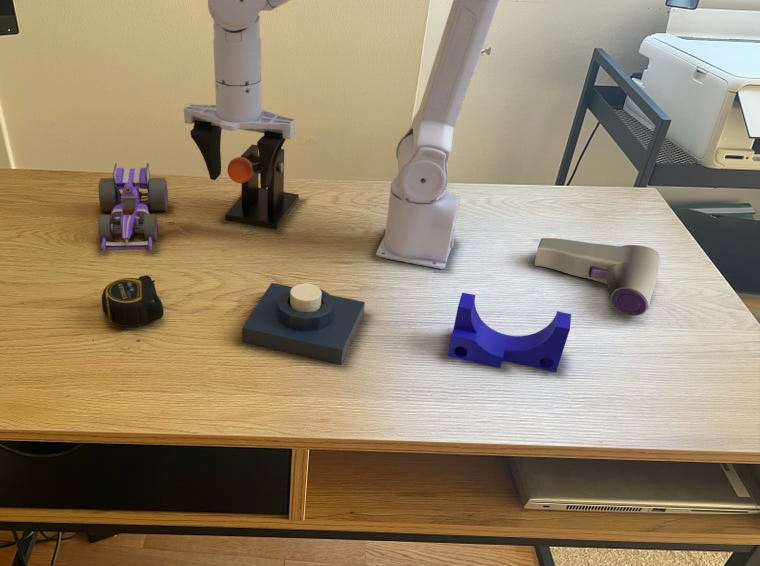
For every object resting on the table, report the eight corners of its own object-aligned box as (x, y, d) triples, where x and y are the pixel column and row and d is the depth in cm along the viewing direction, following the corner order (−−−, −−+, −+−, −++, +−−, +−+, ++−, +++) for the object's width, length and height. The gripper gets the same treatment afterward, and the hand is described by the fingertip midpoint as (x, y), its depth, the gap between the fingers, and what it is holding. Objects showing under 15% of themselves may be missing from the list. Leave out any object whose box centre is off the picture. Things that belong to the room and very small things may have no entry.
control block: (363, 316, 91) (366, 289, 88) (341, 365, 83) (343, 337, 81) (271, 297, 93) (271, 270, 91) (242, 342, 86) (241, 314, 84)
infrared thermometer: (538, 257, 104) (654, 277, 99) (521, 301, 95) (647, 325, 90) (544, 227, 101) (663, 246, 96) (527, 270, 93) (657, 293, 87)
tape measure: (166, 327, 88) (163, 301, 86) (108, 336, 86) (103, 310, 84) (156, 296, 93) (153, 270, 91) (101, 304, 91) (96, 279, 89)
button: (324, 299, 87) (325, 286, 86) (315, 315, 84) (316, 303, 83) (295, 293, 88) (296, 280, 87) (285, 309, 85) (286, 296, 84)
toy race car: (91, 253, 101) (84, 210, 97) (105, 202, 112) (99, 161, 108) (162, 252, 101) (157, 209, 97) (168, 201, 113) (165, 161, 109)
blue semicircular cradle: (447, 356, 85) (455, 313, 81) (453, 334, 88) (462, 292, 84) (555, 380, 82) (569, 337, 78) (557, 356, 85) (571, 313, 81)
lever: (246, 186, 97) (249, 160, 96) (222, 182, 98) (224, 156, 97) (275, 177, 108) (278, 153, 107) (254, 173, 109) (256, 149, 107)
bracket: (276, 231, 106) (277, 171, 101) (225, 221, 108) (223, 161, 102) (298, 201, 114) (300, 143, 108) (250, 192, 116) (249, 135, 110)
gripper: (170, 80, 89) (178, 184, 98) (283, 97, 86) (281, 203, 95) (194, 63, 95) (200, 163, 103) (302, 78, 91) (298, 180, 100)
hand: (240, 181), depth 99 cm, fingers open, 7 cm apart
